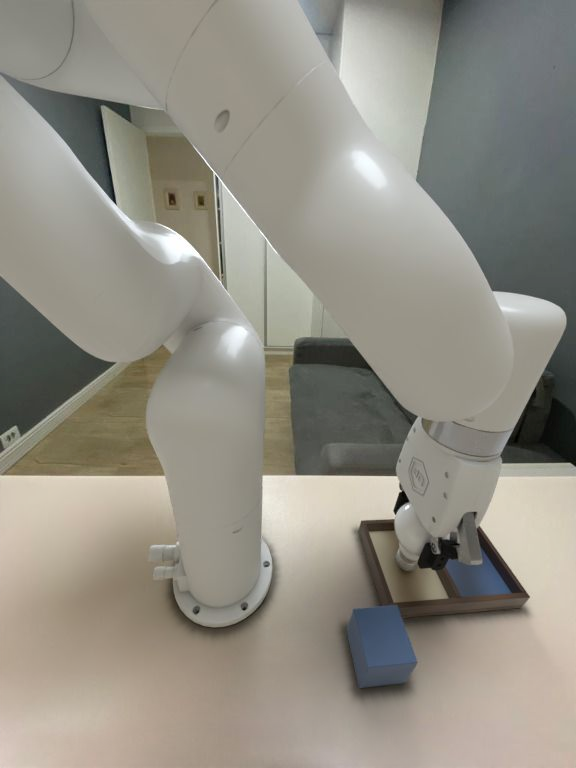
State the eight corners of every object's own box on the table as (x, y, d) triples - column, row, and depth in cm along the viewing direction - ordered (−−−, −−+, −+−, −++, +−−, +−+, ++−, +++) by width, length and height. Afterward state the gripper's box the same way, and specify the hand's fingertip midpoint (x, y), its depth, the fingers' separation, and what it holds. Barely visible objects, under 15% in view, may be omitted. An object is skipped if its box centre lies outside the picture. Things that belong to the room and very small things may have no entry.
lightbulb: (379, 578, 40) (401, 524, 35) (381, 536, 45) (401, 483, 40) (430, 596, 39) (462, 543, 33) (426, 551, 44) (454, 498, 38)
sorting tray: (386, 619, 37) (390, 608, 36) (357, 531, 47) (360, 520, 46) (521, 608, 39) (530, 597, 38) (466, 525, 49) (472, 515, 48)
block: (358, 688, 31) (367, 667, 29) (346, 630, 36) (353, 608, 33) (405, 683, 32) (418, 662, 29) (387, 626, 36) (397, 604, 34)
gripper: (392, 380, 37) (366, 485, 46) (485, 496, 22) (420, 618, 31) (450, 380, 38) (413, 483, 47) (577, 492, 23) (488, 612, 32)
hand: (416, 536), depth 39 cm, fingers closed on lightbulb, 6 cm apart
